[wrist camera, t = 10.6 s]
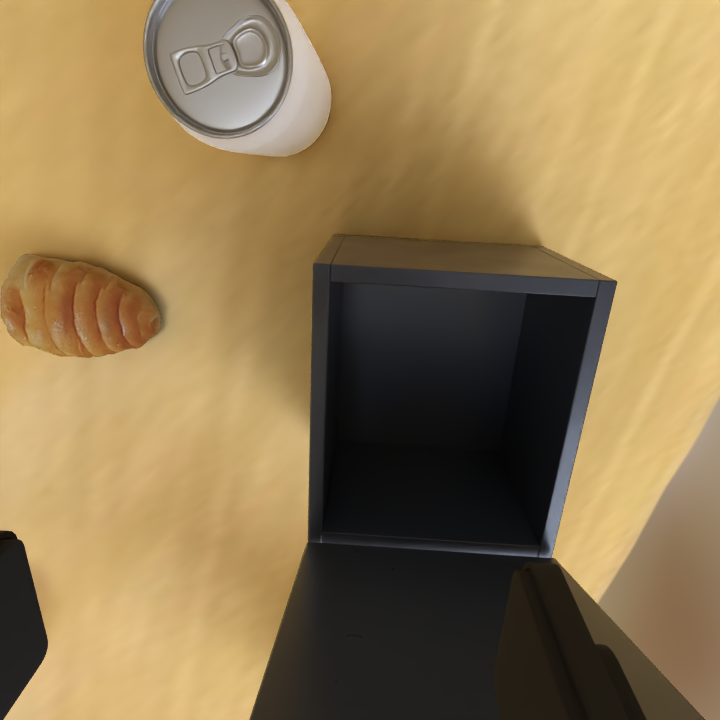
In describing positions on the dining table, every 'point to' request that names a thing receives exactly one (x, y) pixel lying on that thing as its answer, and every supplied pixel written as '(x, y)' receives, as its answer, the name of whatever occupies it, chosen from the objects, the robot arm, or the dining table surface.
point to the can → (237, 74)
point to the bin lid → (416, 638)
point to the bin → (448, 392)
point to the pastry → (75, 308)
